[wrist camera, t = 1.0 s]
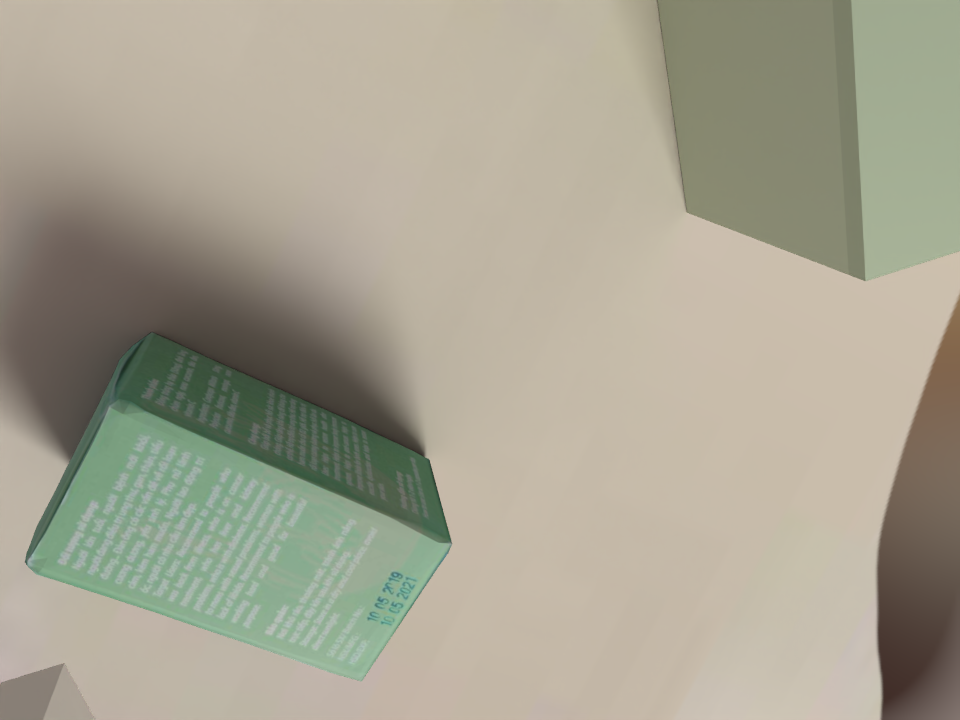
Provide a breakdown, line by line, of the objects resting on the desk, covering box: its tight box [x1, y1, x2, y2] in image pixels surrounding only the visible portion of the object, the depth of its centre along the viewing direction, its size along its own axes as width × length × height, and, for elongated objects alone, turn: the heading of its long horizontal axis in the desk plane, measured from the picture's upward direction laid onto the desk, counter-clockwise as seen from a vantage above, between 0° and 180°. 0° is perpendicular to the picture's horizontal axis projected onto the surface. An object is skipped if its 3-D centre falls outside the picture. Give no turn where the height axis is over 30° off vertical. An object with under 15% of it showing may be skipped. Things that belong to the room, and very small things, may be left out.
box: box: [25, 332, 452, 681], centre depth 31 cm, size 7×14×8 cm, turn 58°
